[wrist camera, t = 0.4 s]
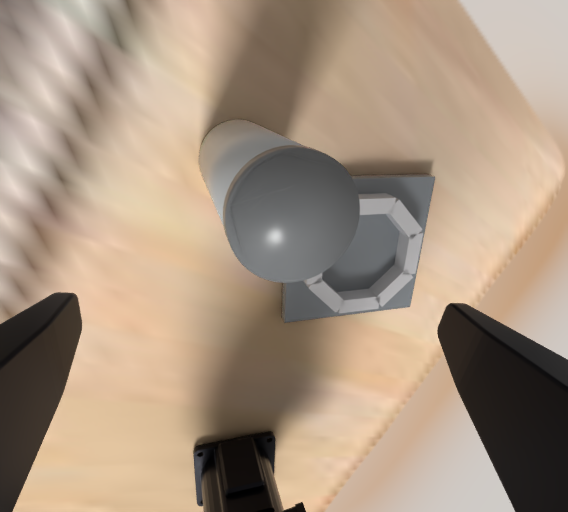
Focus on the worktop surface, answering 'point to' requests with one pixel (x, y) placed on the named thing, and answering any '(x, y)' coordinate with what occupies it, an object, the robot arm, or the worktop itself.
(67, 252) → the worktop surface
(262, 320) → the worktop surface
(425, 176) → the ring socket board
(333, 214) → the canister
